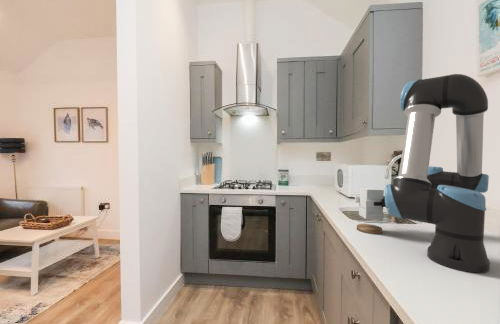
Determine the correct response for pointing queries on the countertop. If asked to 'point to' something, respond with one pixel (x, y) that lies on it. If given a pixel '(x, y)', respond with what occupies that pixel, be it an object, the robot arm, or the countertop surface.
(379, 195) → the supplement box
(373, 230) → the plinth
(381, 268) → the countertop surface
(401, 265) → the countertop surface
